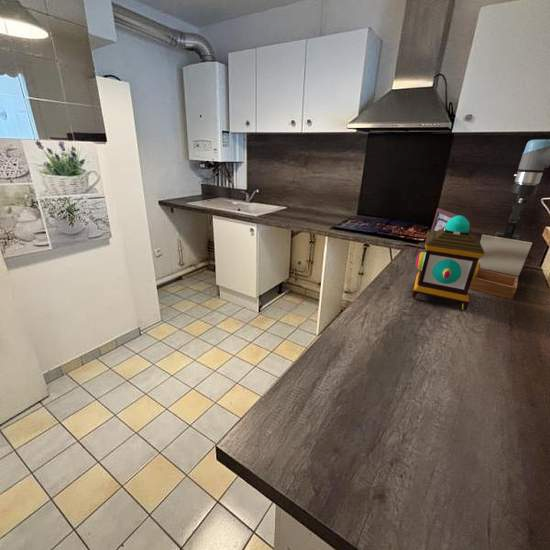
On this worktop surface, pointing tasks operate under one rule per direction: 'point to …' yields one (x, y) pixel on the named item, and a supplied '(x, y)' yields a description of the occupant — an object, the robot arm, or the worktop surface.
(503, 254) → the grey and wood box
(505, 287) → the open wooden box
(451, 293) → the decorative lantern
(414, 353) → the worktop surface
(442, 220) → the picture frame
